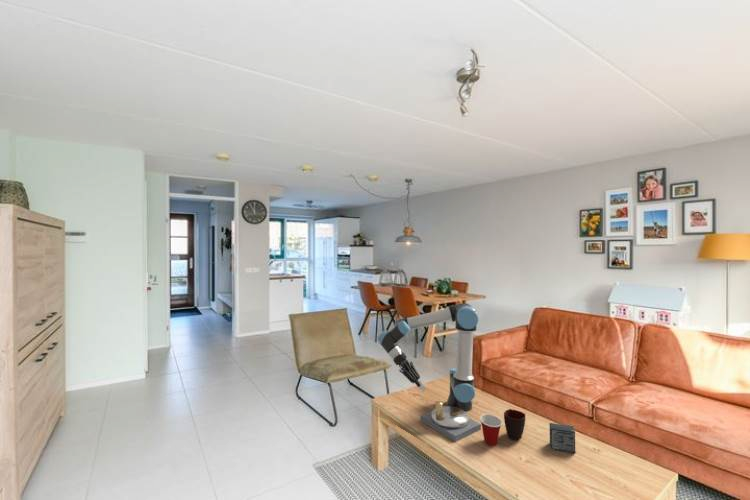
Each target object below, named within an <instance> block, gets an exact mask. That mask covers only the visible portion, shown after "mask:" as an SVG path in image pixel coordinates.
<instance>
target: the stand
mask: <svg viewBox="0 0 750 500" xmlns="http://www.w3.org/2000/svg"><path fill="white" fill-rule="evenodd" d="M432 411H433V410H431V411H429V412H426V413H424V414H421V415H420V418H419V419H420V422H421V423H423V424H425V425H426V426H428V427H430V428H432V429H433V430H435V431H437V432H438V433H440V434H442V435H444V436H445V437H447V438H449V439H450V440H452V441H453V442H455V443H456V442H458V441H461V440H462V439H465V438H467V437H469V436H470V435H473V434H475V433H477V432H479V431H481V429H482V424H481V422H478V421H476V420H474V419H472V418H471V417H469V422H468V424H467V425H466V426H465V427H462V428H458V429H449V428H444V427H441V426H438V425H437V424H435V423H434V422H433V421H432Z"/></svg>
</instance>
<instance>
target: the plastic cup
mask: <svg viewBox="0 0 750 500" xmlns="http://www.w3.org/2000/svg"><path fill="white" fill-rule="evenodd" d="M479 420H480V424H481V429H482V434H483V440H484V443H485V444H486V445H487V446H490V447H491V446H492V447H494V446H496V445H497V444H498V440H499V435H500V429H501V427H502V425H503V420H502V419H501V418H500V417H498V416H497V415H494V414H489V413H488V414H487V413H485V414H482V415H480V416H479Z"/></svg>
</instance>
